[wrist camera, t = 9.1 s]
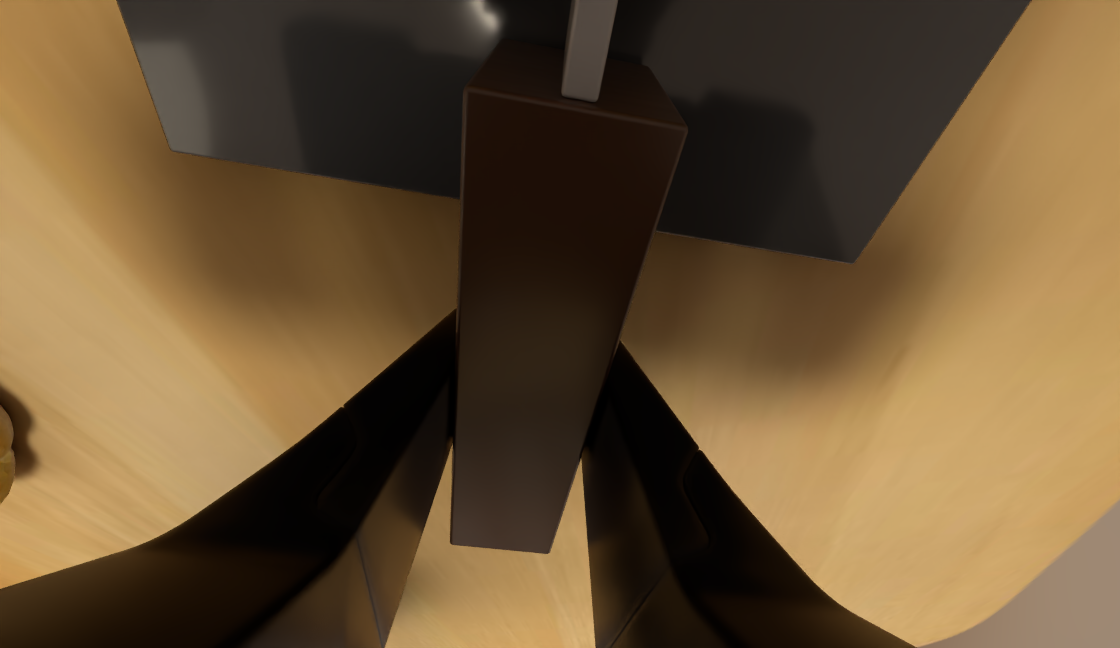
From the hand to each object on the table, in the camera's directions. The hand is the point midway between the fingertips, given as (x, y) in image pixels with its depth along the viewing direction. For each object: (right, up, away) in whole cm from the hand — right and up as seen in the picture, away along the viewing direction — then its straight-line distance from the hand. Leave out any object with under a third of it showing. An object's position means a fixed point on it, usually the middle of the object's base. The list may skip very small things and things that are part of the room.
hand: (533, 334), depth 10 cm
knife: (+1, +4, -2) cm, 5 cm away
